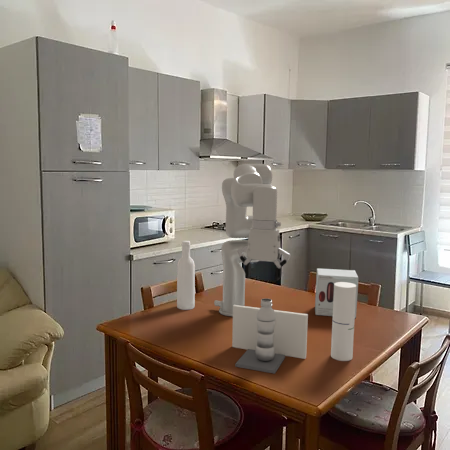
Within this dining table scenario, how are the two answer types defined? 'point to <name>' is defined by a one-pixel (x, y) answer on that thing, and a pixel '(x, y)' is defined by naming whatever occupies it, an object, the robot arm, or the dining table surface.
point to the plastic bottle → (265, 331)
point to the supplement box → (331, 288)
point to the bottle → (185, 279)
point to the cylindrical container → (343, 321)
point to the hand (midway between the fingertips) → (262, 278)
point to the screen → (283, 331)
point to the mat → (259, 362)
